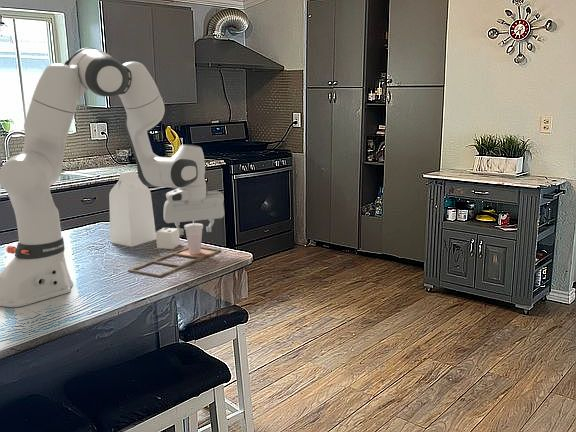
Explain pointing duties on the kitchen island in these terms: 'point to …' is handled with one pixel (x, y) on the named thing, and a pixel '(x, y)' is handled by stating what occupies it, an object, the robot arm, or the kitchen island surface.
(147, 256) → the kitchen island surface
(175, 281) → the kitchen island surface
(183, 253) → the board
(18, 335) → the kitchen island surface
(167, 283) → the kitchen island surface
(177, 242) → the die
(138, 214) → the milk
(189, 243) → the smoothie
